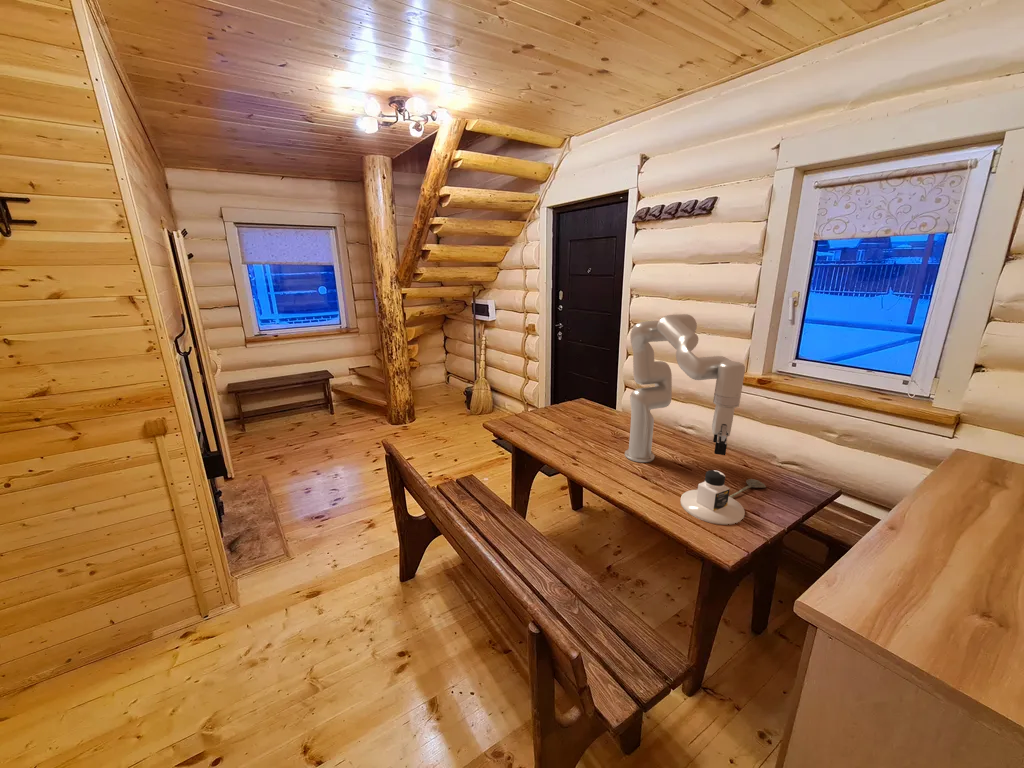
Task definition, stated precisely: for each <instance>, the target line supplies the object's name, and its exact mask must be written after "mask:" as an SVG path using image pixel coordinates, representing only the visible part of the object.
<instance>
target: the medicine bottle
mask: <svg viewBox="0 0 1024 768" xmlns="http://www.w3.org/2000/svg"><path fill="white" fill-rule="evenodd" d="M725 481H726V475H725V474H724V473H723V472H721V471H719V470H714V469H711V470H707V471H706V472H705V477H704V481H702V482H700V483H698V485H697V490H698V491H697V498H696V502H698V503H699V504H701V505H703V506H705V507H706V508H708V509H710V510H712V511H716V510H719V509H721V508H724V507H726V506H727V503H728V497H729V496H730V487H728V486H726V485H725V483H726V482H725Z"/></svg>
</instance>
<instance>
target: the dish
mask: <svg viewBox="0 0 1024 768" xmlns="http://www.w3.org/2000/svg"><path fill="white" fill-rule="evenodd" d="M697 491H698V489H690V490H687V491H685V492H682V494H681V497H680V506H681V507H682V508H683V510H684V511H685V512H687V513H688V514H689V515H690V516H692V517H694V518H696V519H698V520H700V521H703V522H706V523H710V524H715V525H725V526H730V525H736V524H738V522H739V523H740V522H742V521H743V520H744V518H745V513H746V512H745V508H744V506H743V505H742V504H741V503H740V502H739V501H737V500H736V499H734V497H732V498H731V497H728V503H727V506H726V507H724V508H721V509H719V510H716V511H712V510H710V509H708V508H706V507H705V506H703V505H701V504H699V503H698V502H696V498H697ZM742 519H743V520H742ZM741 520H742V521H741ZM735 523H736V524H735ZM728 524H729V525H728Z"/></svg>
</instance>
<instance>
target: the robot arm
mask: <svg viewBox="0 0 1024 768" xmlns="http://www.w3.org/2000/svg"><path fill="white" fill-rule="evenodd" d="M697 327H698V324H697V320H696V318H694V316H692V315H690V314H688V313H683V314H668V315H667V314H666V315H664V316H662V317H661V318H660V319H659V320H646V321H645V320H644V321H641V322H637V323H636V324H634V325H633V326H632V329H631V330H630V335H629V337H630V344H631V348H632V355H633V356H632V363H633V364H632V367H633V369H632V370H633V371H632V373H633V380H634V382H635V383H636V384H637V385H642V386H643V385H654V386H647V387H641V388H636V389H634V390H632V391H631V393H630V396H629V401H630V411H631V412H630V429H629V442H628V449H626V450H625V451H624V456H625V457H626V459H628V460H629V461H632V462H637V463H651V462H652V461H654V460H655V454H654V453H653V452H652V447H653V446H652V445H653V438H654V437H653V435H654V427H655V426H654V423H655V419H654V416H653V415H652V413H651V410H656V409H664V408H667V407H669V406H670V405H671V402H672V396H673V395H672V393H673V392H672V391H673V390H672V389H673V387H672V386H673V385H672V384H673V377H672V376H673V375H672V369H671V367H670V365H669V364H668V363H667V362H666V361H662V360H658V361H655V351H654V349H653V348H654V347H652V346H653V345H651V344H650V343H653V342H654V343H655V342H656V343H657V342H668V343H669V344H670V345H671V346H672V347H673V349H675V350H676V352H675V359H676V363H677V365H678V367H679V368H680V369H681V370H682V372H684V373H685V374H686V376H688V377H689V378H691V380H694V381H703V380H704V381H705V380H716V381H715V386H714V395H713V400H712V403H713V404H714V405H715V407H714V413H713V420H712V424H711V432H712V434H713V439H712V441H713V443H715V446H714V452H713V453H714V454H715V455H720V456H726V454H727V446H728V437H730V435H731V433H732V427H733V426H732V425H733V421H734V414H735V409H736V408H739V407H740V402H741V398H742V397H741V395H742V391H743V385H744V380H745V379H744V378H745V372H746V366H745V364H744V363H742V362H739V361H734V360H731V359H729V358H727V357H725V356H721V355H716V356H715V355H714V356H701V357H698V356H696V354H694V353H693V352H692V351H693V350H694V349H696V347H697V346H698V343H699V336H698V335H697V333H696V332H697Z"/></svg>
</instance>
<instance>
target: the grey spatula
mask: <svg viewBox="0 0 1024 768" xmlns="http://www.w3.org/2000/svg"><path fill="white" fill-rule="evenodd" d="M746 484H747V486H744V487H743V488H741V489H740V490H738V491H737V492H734V493H732V494H729V497H731V498H734V497H735V496H737V495H738V494H740V493H742V492H744V491H746V490H747V489H750V488H758V489H759V488H761V489H762V488H767V486H766V485H765V483H763V482H762V481H760V480H758V479H754V478H750V479H748V478H747V479H746Z"/></svg>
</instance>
